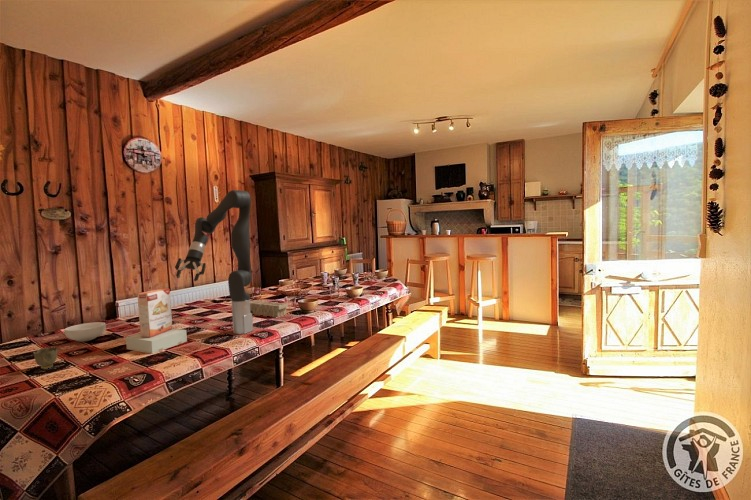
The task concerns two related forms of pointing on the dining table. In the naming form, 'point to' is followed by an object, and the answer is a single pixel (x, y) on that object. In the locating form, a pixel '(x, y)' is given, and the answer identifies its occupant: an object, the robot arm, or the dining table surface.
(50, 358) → the cup
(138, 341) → the pale square block
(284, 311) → the block tower
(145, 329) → the cracker box
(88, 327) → the cereal bowl
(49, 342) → the dining table surface
